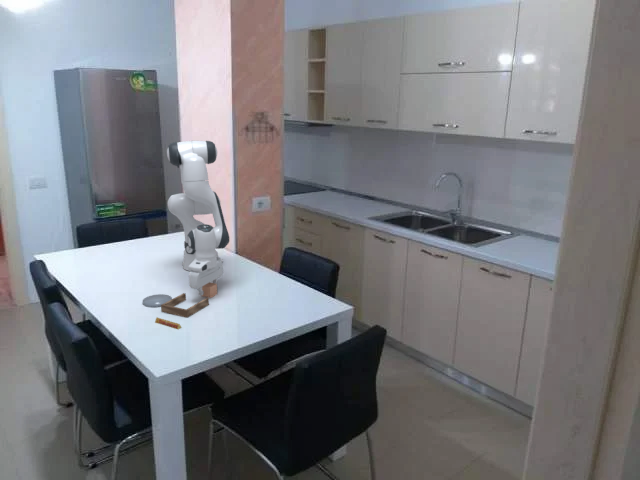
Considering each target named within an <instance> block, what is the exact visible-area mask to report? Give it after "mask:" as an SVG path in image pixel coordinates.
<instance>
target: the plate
mask: <svg viewBox="0 0 640 480" xmlns="http://www.w3.org/2000/svg"><path fill="white" fill-rule="evenodd" d="M172 299H173V297H172V296H171V295H168V294H160V293H159V294H153V295H148V296H147V297H145V298H143V299H142V305H143V306H144V307H147V308H161V305H162V304H164V303H166V302H168V301H170V300H172Z"/></svg>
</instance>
